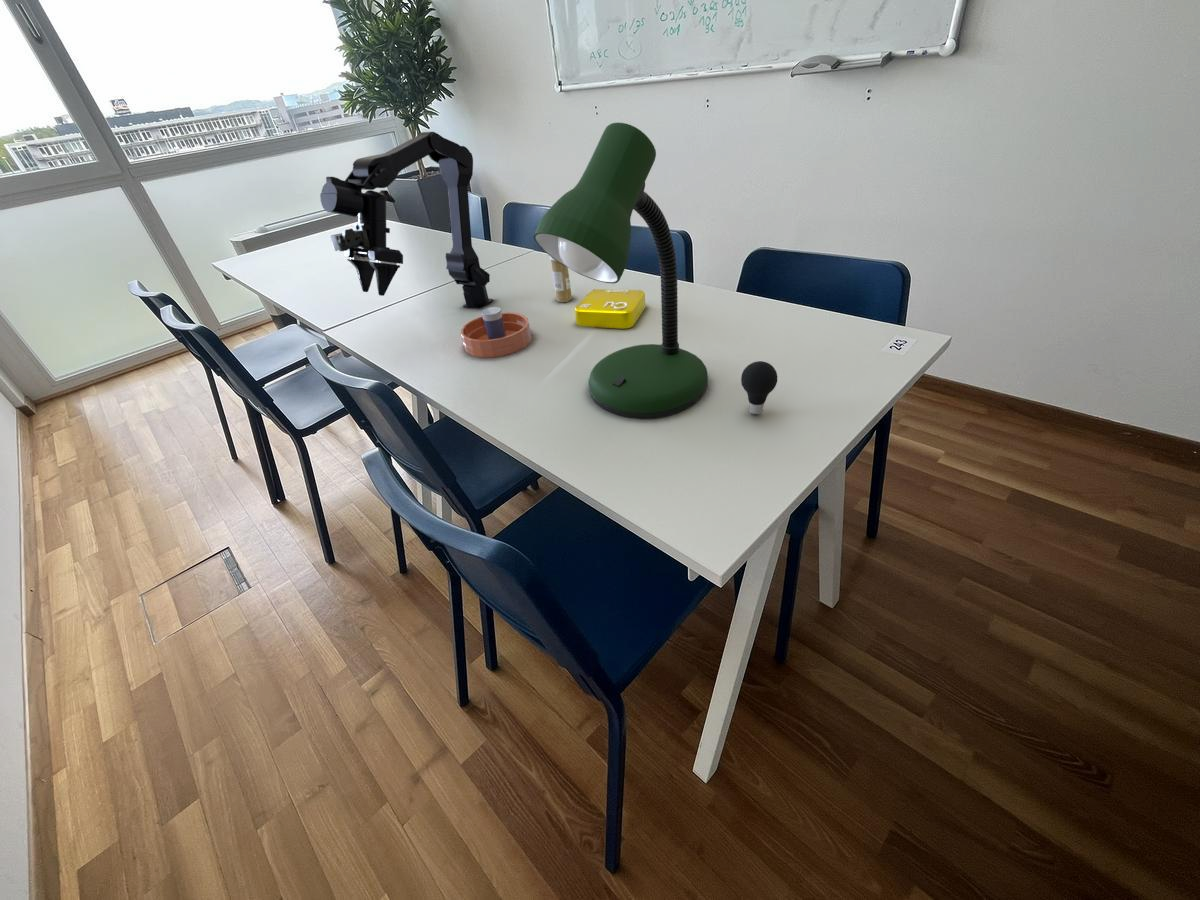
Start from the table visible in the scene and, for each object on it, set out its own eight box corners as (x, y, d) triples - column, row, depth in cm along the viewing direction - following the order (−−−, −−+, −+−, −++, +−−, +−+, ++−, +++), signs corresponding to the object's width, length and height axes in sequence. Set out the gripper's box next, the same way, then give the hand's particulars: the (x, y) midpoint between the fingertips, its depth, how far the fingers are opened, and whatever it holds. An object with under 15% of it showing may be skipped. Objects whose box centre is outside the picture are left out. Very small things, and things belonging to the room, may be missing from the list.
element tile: (647, 305, 135) (646, 287, 132) (631, 329, 124) (630, 310, 121) (593, 303, 140) (592, 286, 137) (574, 326, 129) (571, 308, 126)
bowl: (490, 326, 134) (486, 310, 131) (543, 332, 128) (540, 315, 125) (451, 354, 122) (446, 337, 120) (508, 362, 116) (504, 344, 114)
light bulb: (734, 407, 93) (737, 357, 87) (766, 403, 93) (771, 353, 87) (744, 425, 88) (748, 373, 82) (777, 420, 88) (784, 369, 82)
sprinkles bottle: (575, 299, 144) (569, 250, 135) (561, 304, 142) (554, 254, 134) (567, 295, 147) (560, 247, 139) (553, 299, 145) (545, 251, 137)
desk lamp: (624, 456, 84) (597, 141, 57) (536, 412, 98) (481, 140, 71) (729, 379, 101) (746, 105, 74) (641, 350, 114) (629, 110, 87)
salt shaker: (495, 337, 127) (488, 306, 123) (511, 339, 126) (504, 307, 121) (485, 345, 124) (477, 313, 119) (501, 347, 122) (493, 315, 118)
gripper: (319, 214, 115) (321, 287, 120) (350, 213, 103) (352, 294, 107) (369, 223, 123) (370, 291, 127) (404, 223, 110) (403, 298, 115)
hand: (373, 293), depth 119 cm, fingers open, 9 cm apart
